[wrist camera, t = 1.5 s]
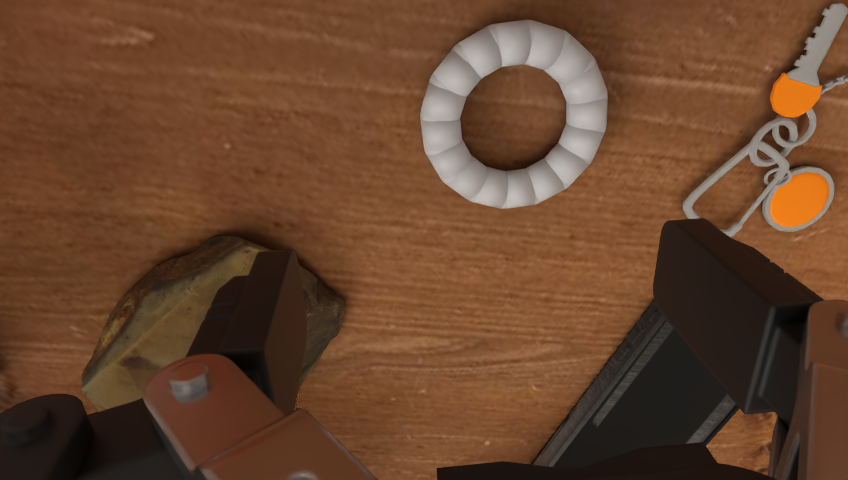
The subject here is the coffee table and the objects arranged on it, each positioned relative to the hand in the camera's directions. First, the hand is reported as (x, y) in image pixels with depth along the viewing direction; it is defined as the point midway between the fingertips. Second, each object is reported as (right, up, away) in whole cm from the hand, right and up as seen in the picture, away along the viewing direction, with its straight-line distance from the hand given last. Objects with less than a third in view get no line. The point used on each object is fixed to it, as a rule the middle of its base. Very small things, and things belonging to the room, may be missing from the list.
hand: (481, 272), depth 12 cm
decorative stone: (-11, -3, +15) cm, 19 cm away
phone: (+11, -8, +19) cm, 24 cm away
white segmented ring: (+2, +6, +11) cm, 12 cm away
